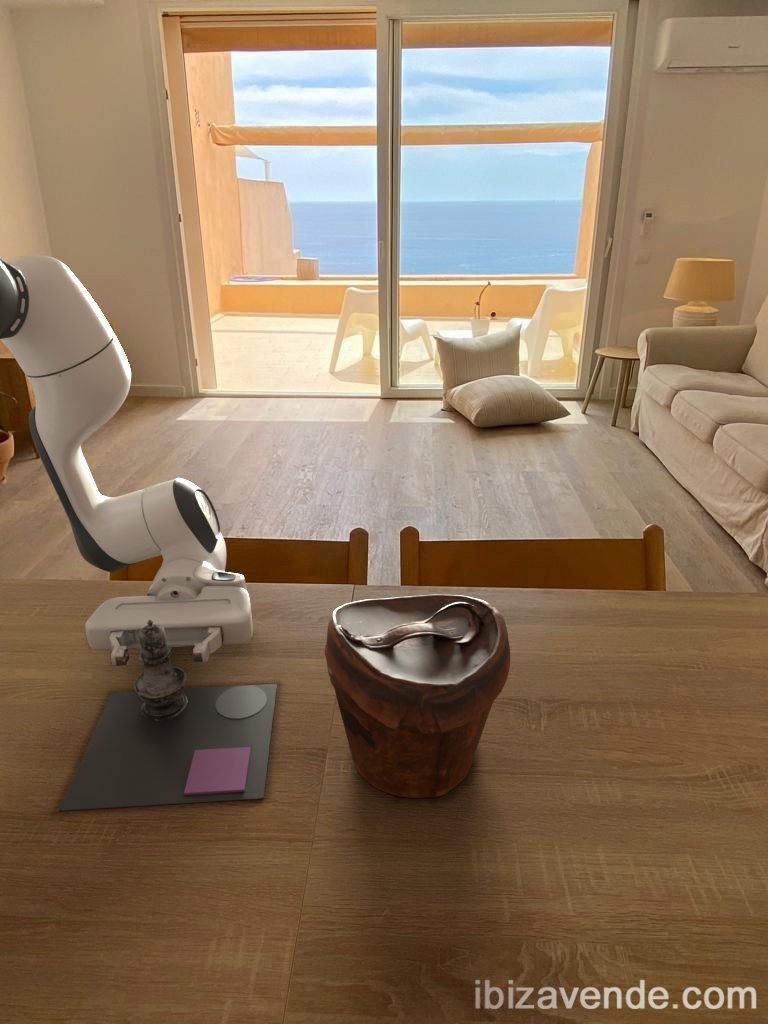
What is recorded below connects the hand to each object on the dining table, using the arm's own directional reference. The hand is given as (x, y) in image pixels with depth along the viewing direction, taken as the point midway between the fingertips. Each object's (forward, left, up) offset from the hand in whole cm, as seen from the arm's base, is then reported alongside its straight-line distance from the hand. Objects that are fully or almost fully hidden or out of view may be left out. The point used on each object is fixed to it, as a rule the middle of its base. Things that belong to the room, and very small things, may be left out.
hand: (158, 659), depth 81 cm
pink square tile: (+8, -12, -6) cm, 16 cm away
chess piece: (0, -1, -6) cm, 6 cm away
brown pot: (+29, -11, -6) cm, 32 cm away
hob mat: (+3, -7, -6) cm, 10 cm away
